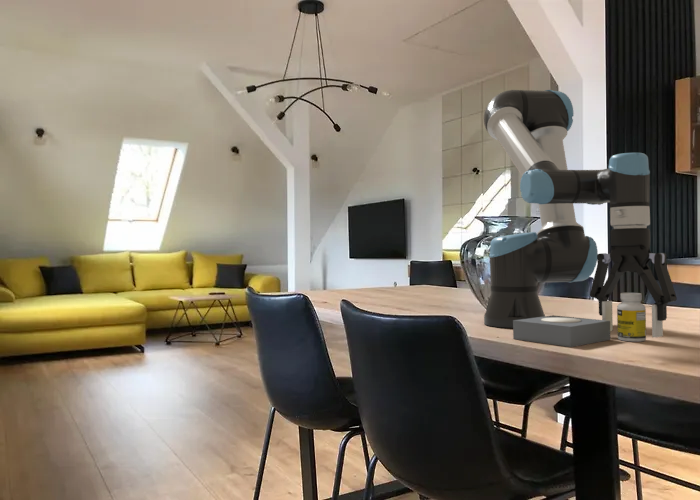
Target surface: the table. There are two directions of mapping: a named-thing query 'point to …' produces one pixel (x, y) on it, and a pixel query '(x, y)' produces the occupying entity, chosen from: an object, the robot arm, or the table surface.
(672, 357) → the table surface
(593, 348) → the table surface
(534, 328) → the riser
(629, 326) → the supplement bottle
